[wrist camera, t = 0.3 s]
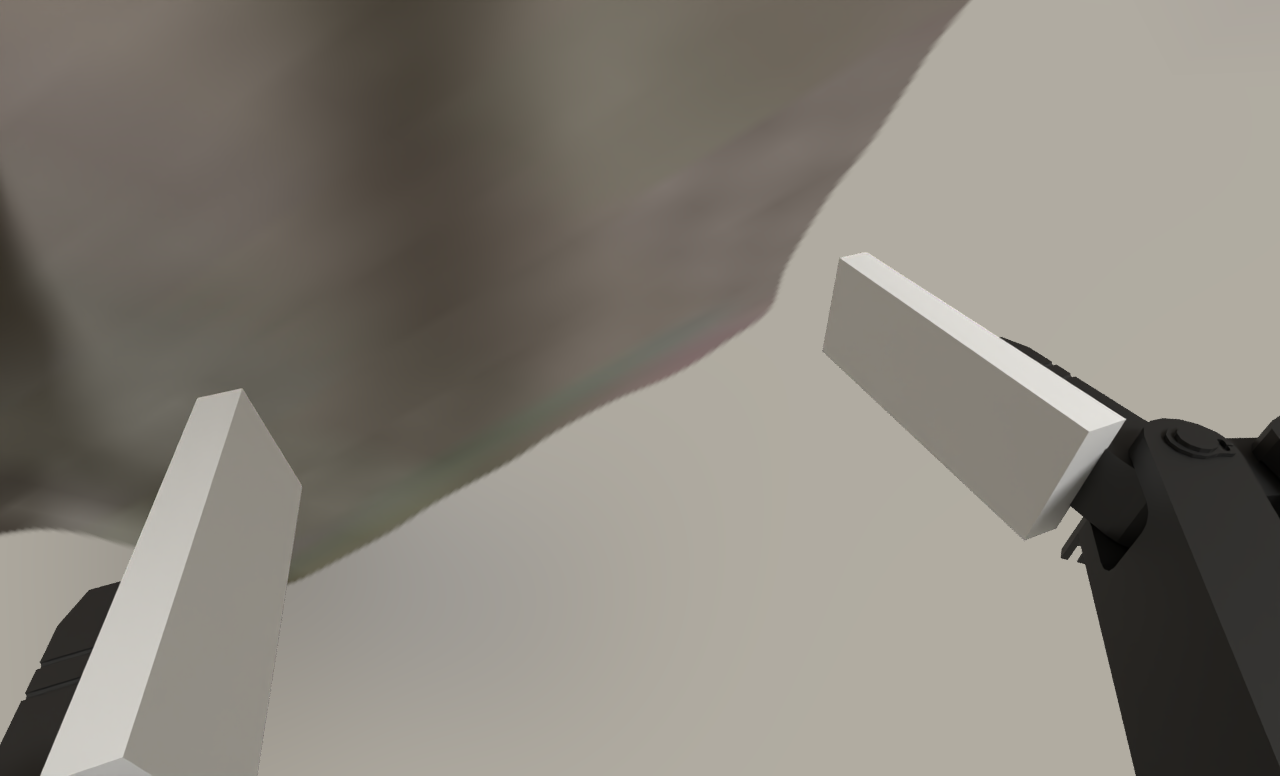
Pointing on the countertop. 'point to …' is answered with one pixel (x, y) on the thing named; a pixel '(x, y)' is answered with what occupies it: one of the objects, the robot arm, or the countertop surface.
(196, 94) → the countertop surface
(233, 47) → the countertop surface
